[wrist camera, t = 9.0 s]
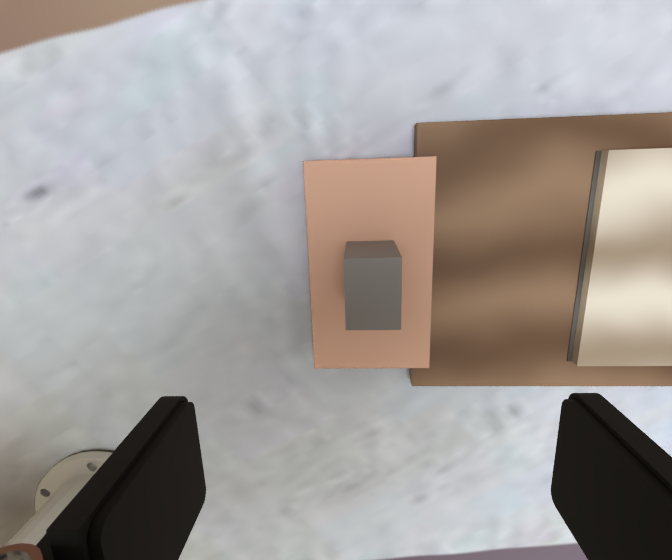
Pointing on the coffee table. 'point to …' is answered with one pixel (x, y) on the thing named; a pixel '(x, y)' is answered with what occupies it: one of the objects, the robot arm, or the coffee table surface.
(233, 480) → the coffee table surface
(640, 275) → the board
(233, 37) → the coffee table surface
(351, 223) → the peach lid with handle
